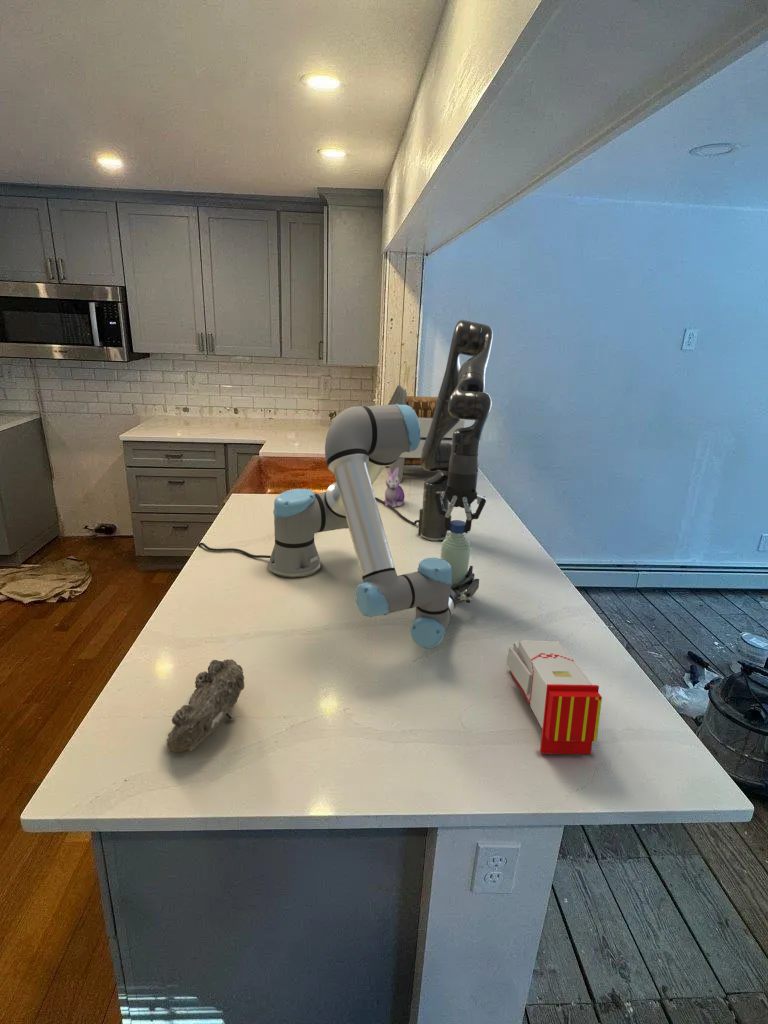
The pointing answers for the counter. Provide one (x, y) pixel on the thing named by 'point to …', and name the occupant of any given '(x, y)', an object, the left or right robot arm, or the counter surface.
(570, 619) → the counter surface
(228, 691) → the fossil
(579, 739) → the toy
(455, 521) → the cap
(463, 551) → the bottle
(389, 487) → the figurine
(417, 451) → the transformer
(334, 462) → the left robot arm
